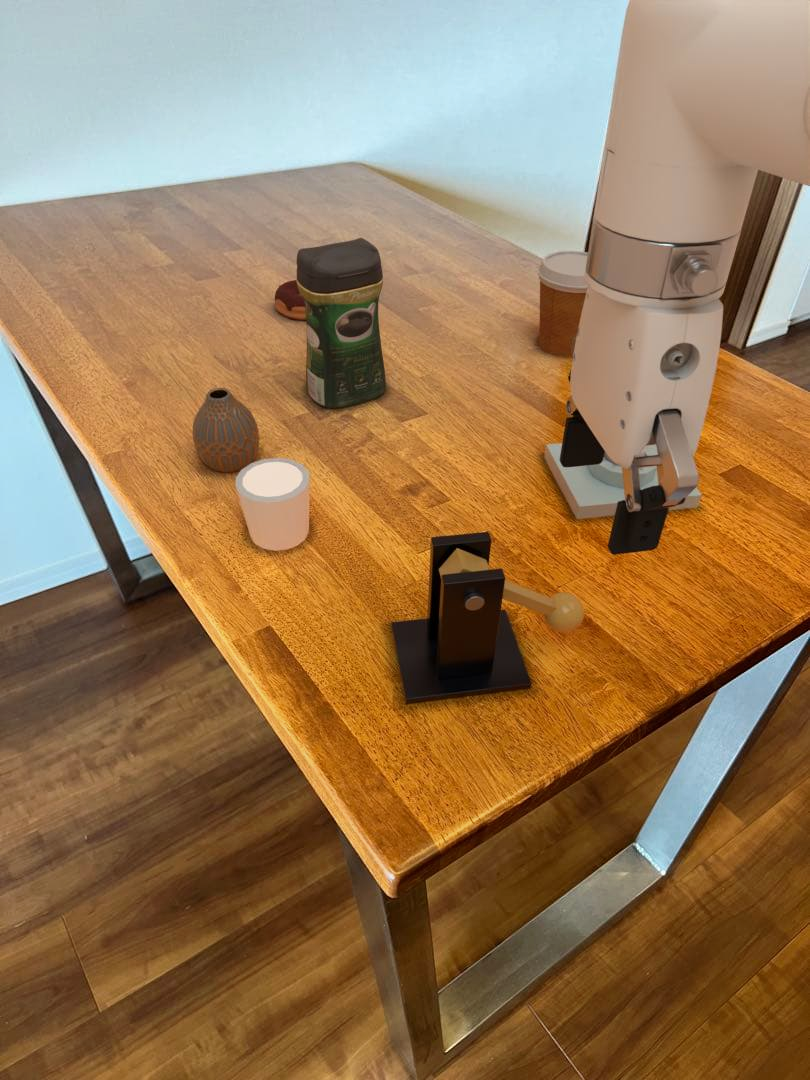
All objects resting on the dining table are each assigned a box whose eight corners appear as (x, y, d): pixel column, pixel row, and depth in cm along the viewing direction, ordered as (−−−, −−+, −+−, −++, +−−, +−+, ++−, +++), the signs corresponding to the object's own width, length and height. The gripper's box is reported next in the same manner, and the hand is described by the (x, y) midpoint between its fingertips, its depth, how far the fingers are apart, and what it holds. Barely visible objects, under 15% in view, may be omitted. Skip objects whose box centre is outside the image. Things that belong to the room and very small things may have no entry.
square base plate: (652, 451, 83) (661, 421, 81) (696, 511, 75) (707, 480, 73) (543, 460, 82) (548, 430, 79) (575, 523, 74) (582, 492, 71)
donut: (348, 299, 113) (347, 273, 111) (337, 327, 106) (336, 300, 104) (284, 295, 114) (281, 270, 112) (269, 323, 107) (266, 297, 104)
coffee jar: (366, 371, 96) (362, 226, 84) (394, 399, 91) (394, 249, 79) (298, 388, 93) (283, 240, 81) (323, 418, 88) (312, 264, 75)
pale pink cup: (238, 521, 73) (228, 464, 69) (305, 507, 75) (299, 450, 71) (252, 566, 69) (242, 508, 64) (323, 549, 70) (318, 491, 66)
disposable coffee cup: (575, 329, 106) (590, 246, 98) (609, 359, 100) (628, 272, 92) (516, 338, 104) (526, 253, 96) (546, 369, 97) (560, 281, 89)
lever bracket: (503, 618, 64) (519, 515, 56) (529, 692, 58) (551, 588, 50) (391, 631, 63) (390, 527, 55) (405, 708, 57) (407, 604, 49)
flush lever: (558, 615, 61) (584, 591, 59) (571, 644, 59) (598, 620, 57) (434, 568, 55) (458, 539, 53) (442, 598, 53) (468, 569, 51)
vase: (267, 445, 83) (257, 377, 78) (256, 482, 78) (245, 411, 72) (207, 444, 83) (192, 376, 78) (192, 481, 78) (176, 410, 72)
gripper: (813, 317, 34) (713, 583, 45) (657, 203, 46) (610, 432, 58) (659, 329, 33) (596, 597, 44) (543, 210, 46) (518, 441, 57)
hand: (604, 503), depth 51 cm, fingers open, 9 cm apart
